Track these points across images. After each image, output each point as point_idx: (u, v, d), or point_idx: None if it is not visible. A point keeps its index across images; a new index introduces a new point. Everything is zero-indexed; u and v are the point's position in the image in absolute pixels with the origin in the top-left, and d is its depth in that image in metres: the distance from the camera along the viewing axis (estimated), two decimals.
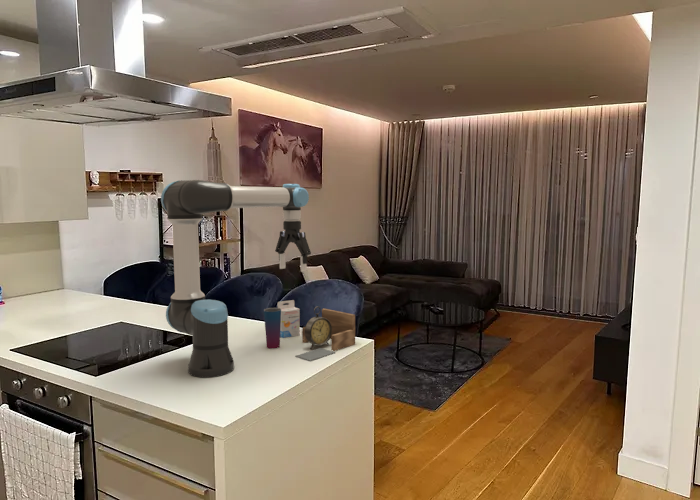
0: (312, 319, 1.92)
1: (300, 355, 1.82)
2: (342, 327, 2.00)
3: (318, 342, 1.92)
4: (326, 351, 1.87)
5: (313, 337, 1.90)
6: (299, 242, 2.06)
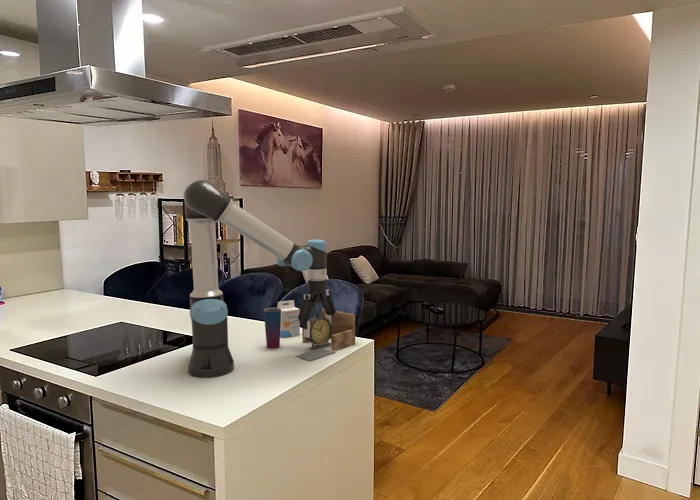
0: (312, 319, 1.92)
1: (300, 355, 1.82)
2: (342, 327, 2.00)
3: (318, 342, 1.92)
4: (326, 351, 1.87)
5: (313, 337, 1.90)
6: (310, 304, 1.89)
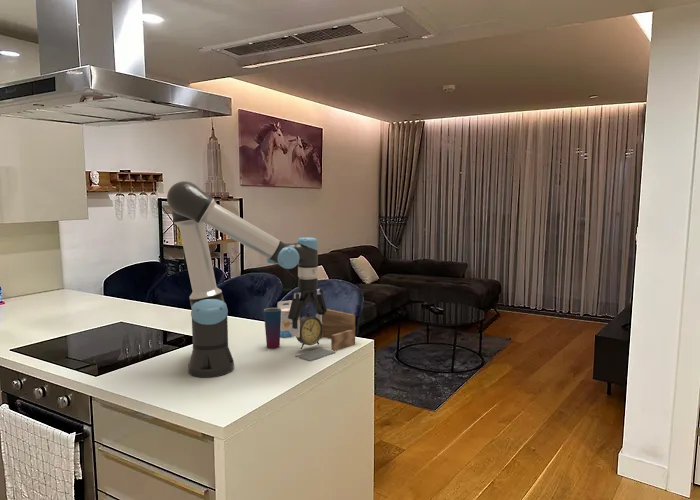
0: (302, 318, 1.88)
1: (300, 355, 1.82)
2: (342, 327, 2.00)
3: (308, 342, 1.88)
4: (326, 351, 1.87)
5: (303, 337, 1.86)
6: (300, 303, 1.86)
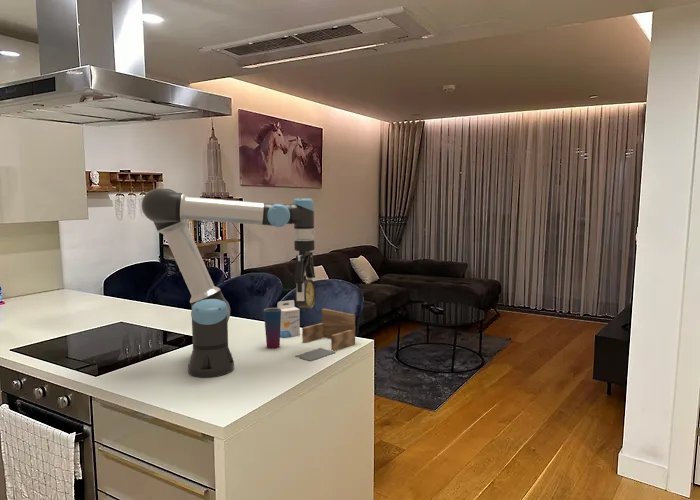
0: None
1: (300, 355, 1.82)
2: (342, 327, 2.00)
3: (308, 305, 1.84)
4: (326, 351, 1.87)
5: (306, 300, 1.81)
6: None
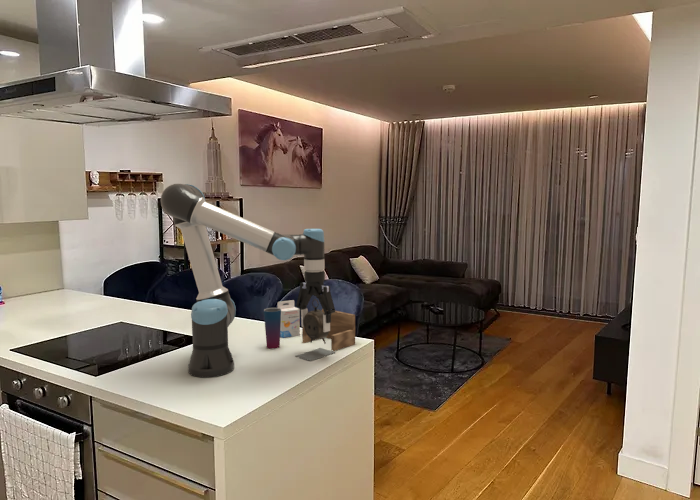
0: (318, 313, 1.80)
1: (300, 355, 1.82)
2: (342, 327, 2.00)
3: None
4: (326, 351, 1.87)
5: None
6: (322, 297, 1.79)
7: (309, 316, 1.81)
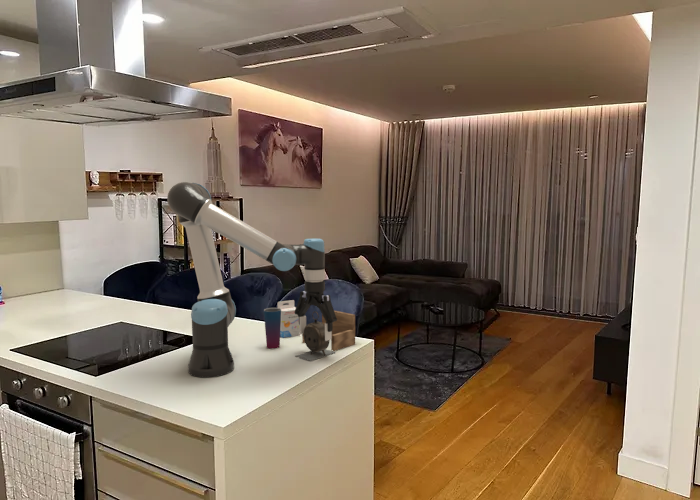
0: (318, 325, 1.81)
1: (300, 355, 1.82)
2: (342, 327, 2.00)
3: None
4: (326, 351, 1.87)
5: None
6: (323, 306, 1.79)
7: (309, 328, 1.81)
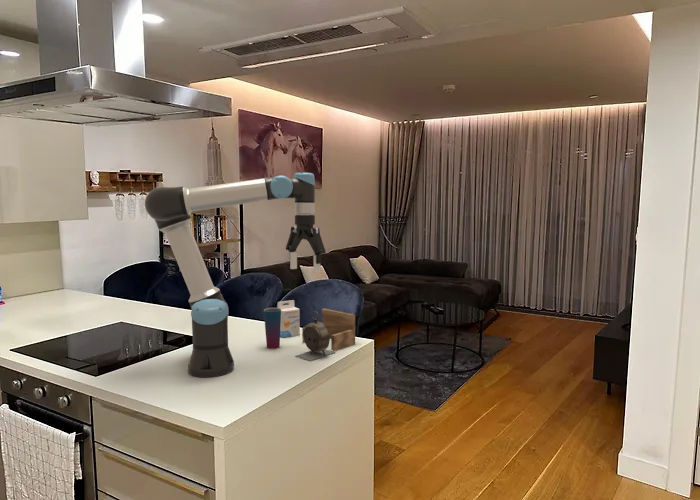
0: (318, 325, 1.81)
1: (300, 355, 1.82)
2: (342, 327, 2.00)
3: None
4: (326, 351, 1.87)
5: None
6: (312, 239, 1.81)
7: (309, 328, 1.81)
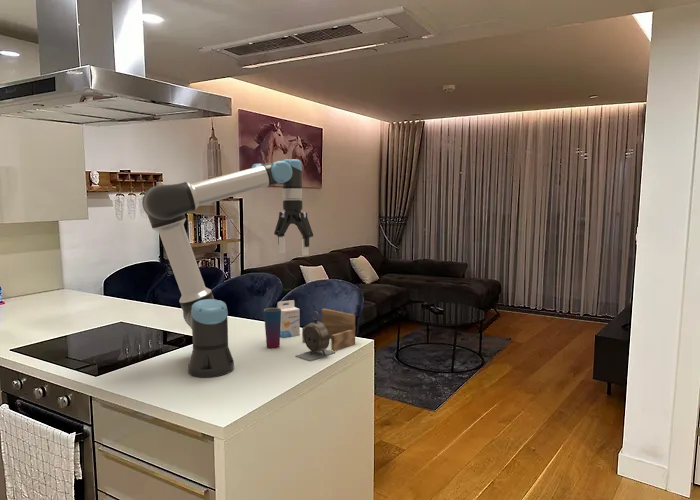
0: (318, 325, 1.81)
1: (300, 355, 1.82)
2: (342, 327, 2.00)
3: None
4: (326, 351, 1.87)
5: None
6: (300, 223, 1.88)
7: (309, 328, 1.81)
